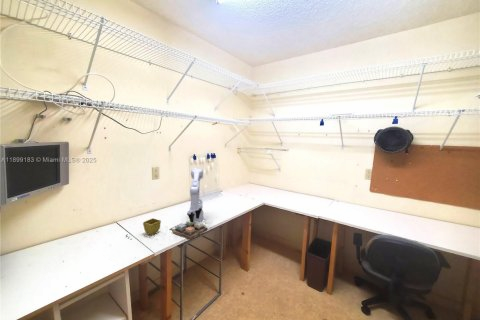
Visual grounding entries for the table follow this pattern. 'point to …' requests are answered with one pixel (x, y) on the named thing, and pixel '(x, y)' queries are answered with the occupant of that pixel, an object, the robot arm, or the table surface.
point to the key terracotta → (190, 229)
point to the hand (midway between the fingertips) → (194, 220)
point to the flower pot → (152, 226)
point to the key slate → (181, 226)
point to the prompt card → (174, 227)
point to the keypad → (189, 235)
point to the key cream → (198, 224)
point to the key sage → (190, 223)
